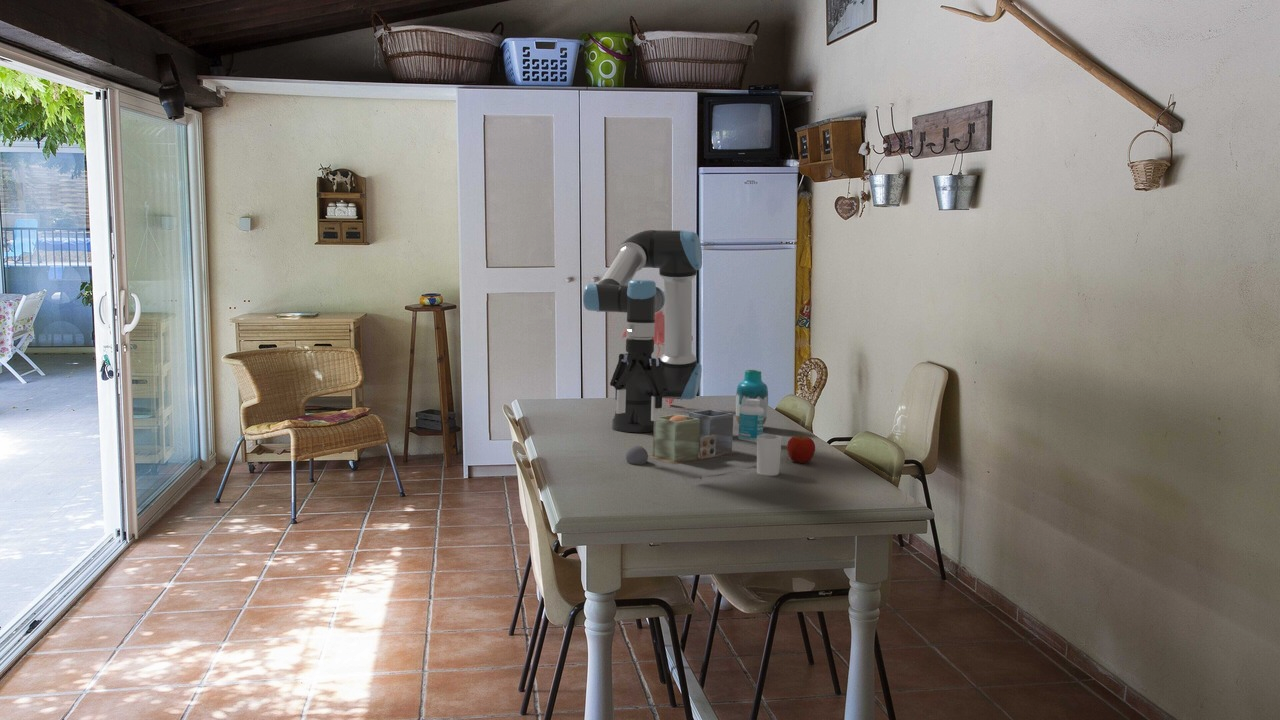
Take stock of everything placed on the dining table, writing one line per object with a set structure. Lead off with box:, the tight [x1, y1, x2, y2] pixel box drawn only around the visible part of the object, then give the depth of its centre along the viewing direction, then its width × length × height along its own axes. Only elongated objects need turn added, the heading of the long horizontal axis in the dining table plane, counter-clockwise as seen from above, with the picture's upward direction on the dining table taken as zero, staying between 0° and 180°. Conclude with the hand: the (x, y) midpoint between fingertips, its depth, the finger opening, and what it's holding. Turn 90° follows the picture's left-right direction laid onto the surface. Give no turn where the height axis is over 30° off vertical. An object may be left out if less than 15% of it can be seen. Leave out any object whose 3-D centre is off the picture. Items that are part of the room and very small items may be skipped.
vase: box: [735, 369, 769, 426], centre depth 337 cm, size 11×11×19 cm
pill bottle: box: [738, 399, 764, 444], centre depth 313 cm, size 8×7×14 cm
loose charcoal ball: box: [625, 445, 649, 466], centre depth 276 cm, size 6×6×6 cm
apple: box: [786, 435, 816, 464], centre depth 288 cm, size 8×8×8 cm
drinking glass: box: [756, 433, 783, 477], centre depth 274 cm, size 7×7×10 cm
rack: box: [648, 408, 739, 465], centre depth 288 cm, size 12×26×12 cm, turn 134°
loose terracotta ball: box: [670, 414, 687, 422], centre depth 283 cm, size 6×6×6 cm
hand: (637, 416), depth 274 cm, fingers open, 13 cm apart
